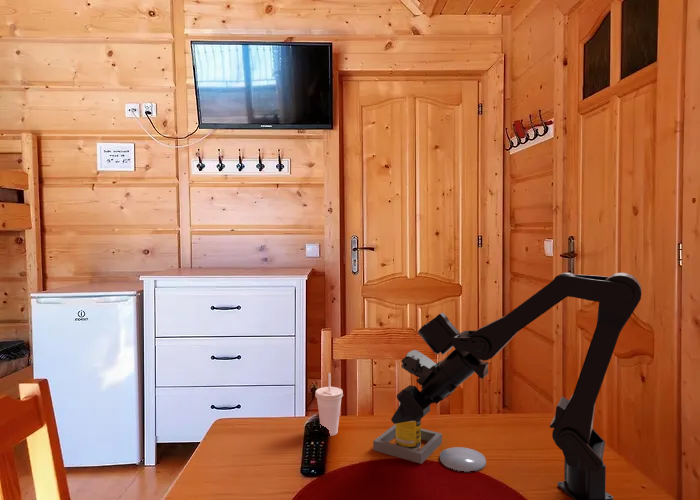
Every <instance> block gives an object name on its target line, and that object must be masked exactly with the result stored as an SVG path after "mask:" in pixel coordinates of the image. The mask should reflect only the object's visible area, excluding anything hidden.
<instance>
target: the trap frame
mask: <svg viewBox="0 0 700 500" xmlns="http://www.w3.org/2000/svg"><path fill="white" fill-rule="evenodd" d="M394 438H396V424H393V425H392V426H390V427H389V428H388V429H387V430H386V431H384V432H383V433H381V435H379V436H378V437H376V438H375V439H373V442H372V444H373V445H372V446H373V447H372V448H373V450H372V451H374V452H378V453H382V454H386V455H389V456H392V457H396V458H399V459H402V460H403V459H404V460H407V461H410V462H413V463H417V464H421V465H422V464H423V463H424V462H425V461H426V460H427V459H428V458H429V457H431V455H432V453H433V452H435V451H436V449H437V448H439V446H440V445H441V444H442V443H443V433H441V432H438V431H437V432H436V431H433V430H428V429H425V428H421V440H422V441H427V442H426V443H425V444H424V445H423V446H422V447H420V448H419V449H418V450H414V449H410V448H407V447H403V446H399V445H396V443H391V441H392V440H394Z"/></svg>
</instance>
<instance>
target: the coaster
mask: <svg viewBox="0 0 700 500" xmlns="http://www.w3.org/2000/svg"><path fill="white" fill-rule="evenodd" d="M439 461H440V464H442V465H443V466H444V467H446V468H447V469H450V468H451V469H450V470H452V469H453V470H452V471H456V470H457V471H456V472H460V471H464V472H463V473H471V472H470V471H475V472H478V471H481V470H483V469H484V468H485V467H486V466H487V459H486V457H485V456H484V454H483V453H481V452H479V451H477V450H476V449H472V448H468V447H463V446H459V447H458V446H455V447H454V446H453V447H449V448H445V449H443V450H442V451H441V452H440V454H439Z"/></svg>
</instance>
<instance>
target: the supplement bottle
mask: <svg viewBox="0 0 700 500" xmlns="http://www.w3.org/2000/svg"><path fill="white" fill-rule="evenodd" d="M399 405H400V402H399V401H398V406H399ZM421 429H422V418H421V419H420V420H419V421H418V422H416V421H408V422H402V423H396V437H395V444H396V445H399V446H403V447H407V448H410V449H414V450H418V451H419V450H420V449H421V444H422V442H421Z"/></svg>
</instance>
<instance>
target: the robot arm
mask: <svg viewBox="0 0 700 500" xmlns="http://www.w3.org/2000/svg"><path fill="white" fill-rule="evenodd" d="M569 297H570V298H576V299H581V300H584V301H590V302H595V303H596V302H597V303H598V308H597V309H598V311H597V318H596V319H597V320H596V326H595V329H594V332H593V335H592V338H591V340H590V344H589V347H588V349H587V352H586V356H585V359H584V361H583V363H582V364H583V365H582V367H581V370H580V373H579V376H578V378H577V381H576V383H575V384H576V385H575V387H574V391H573V393H572V394H571V396H570V398H569V399H568V398H566V397H564V396H561V397H560V399H559V401H558V403H557V404H556V407H555V414H554V416H553V419H552V420H551V423H550V424H549V429H552V434H551V435H552V436H551V437H552V439H553V442H554V444H555V445H556V447H558V449H560V450H561V451H562V454H563V456H564V469H563V470H564V477H563V478H564V480H563V481H557V482H556V483H557V485H556V486H557V487H559V488H560V489H562V491H564V493H566V494H567V495H568V496H570V497H571V498H572V499H573V500H614V496H613V495H611V494H610V493H608V491H606V485H607V484H606V483H607V482H606V474H607V473H606V472H607V470H606V468H607V467H606V465H605V464H604V455H605V448H606V441H605V440H604V438H602V437H601V436H600V434H598V433H597V431H596V430H595V429H594V427H593V426H594V419H595V411H596V401H597V399H598V396H599V393H600V390H601V388H602V385H603V382H604V379H605V376H606V373H607V370H608V368H609V365H610V361H611V359H612V356H613V353H614V350H615V348H616V344H617V342H618V340H619V336H620V334H621V332H622V330H623V328H624V327H625V326H626V324H627V322H628V321H629V320H630V318H631V316H632V315H633V313H634V311H635V310H636V308H637V306H638V305H639V303H640V301H641V298H642V285H641V283H640V281H639V280H638V279H637V278H636V277H635V276H634V275H632V274H629V273H627V272H617V273H613V274H611V275H609V276H604V275H591V274H590V275H589V274H577V273H576V274H575V273H572V272H568V271H567V272H562V273H560V274H558V275H556V276H554V278H553V279H552V280H551V282H549V283H548V284H546V285H544V287H542V288H541V289H540V290H538V291H537V292H536V293H534V294H533V295H532V296H530V297H529V298H528V299H526V300H525V301H524V302H522V303H520V304H519V305H518V306H517V307H516V308H514V309H513V310H512V311H510V312H509V313H507V314H506V315H504V316H502V317H500V318H498V319H495V320H493V321H491V322H489V323H487V324H484V325H483V326H482V327H479V328H478V329H476V330H463V331H461V332H460V331H459V330H458V329H457V327H455V325H454V324H453V323H452V322H451V320H450V319H449V317H448V316H447V315H446V314H445V313H444V312H440V313H438V314H437V315H436V316H435V317H434V318H432V319H431V320H430V321H428V322H426V323H425V324H423V325H422V326H421V327H420V328H419V329H418V331H417V334H418V336H420V337H421V339H423V341H424V342H425V343H426V344H427V346H428V347H429V348H430V350H432V352H433V353H434V354H435V355H436V354H437V355H440V354H441V355H442V356H443V355H445V354H447V353H448V352H449V351H450V350H451V349H453V348H454V350H452V351H451V352H450V353H449V354H448V355H447V356H446V357H444V359H442V360H440V361H438V362H437V363H436V362H434V361H433V360H432V359H431V358H429V357H428V356H427V355H425V354H424V353H422V352H420V351H419V350H417V349H412V350H411V351H408V352H407V353H406V354H405V356H404V358H402V359H401V363H402V364H401V368H402V369H404V370H405V371H406V372H408V373H409V374H411V375H414V376H415V377H417V379H415V381H416V382H417V384H418V385H420V388H421V389H419V388H418V387H417V386H415V385H412V384H409V385H408V386H406V387H405V388H403V389H402V390H401V391H400V392H398V393H397V395H396V399H397V401H398V403H399V402H400V405H399V404H398V407H397V409H396V410H395V413H394V414H393V415H392V417H391V419H390V420H391V422H392V423H393V425H395V424H396V423H402V422H408V421H416V422H418V421H419V420H420V419H421V420H422V418H424V417H425V416H427V414H428V413H430V412H431V405H432V404H436V405H438V403H440V402H442V401H443V400H444V399H446V398H448V397H450V395H451V394H453V392H455V391H456V389H457V387H459V386H460V385H462V384H463V383H464V382H465V381H466V380H467V379H468V378H470V377H471V376H472V375H473V374H474V373H475V374H476V375H477V377H479V379H480V380H483V379H484V378H485V377H486V376H487V375H489V367H488V366H489V362H488V361H489V360H491V359H493V358H494V357H495V356H496V355H497V354H499V353H500V352H501V351H502V350H503V349H504V348H505V347H506V346H507V345H508V343H510V342H511V341H512V339H513V338H514V337H515V336H516V335H517V334H518V333H519V332H520V331H521V330H522V329H524V328H525V327H526V326H528V325H529V324H531V323H532V322H533V321H535V320H536V319H538V318H540V317H541V316H542V315H544V314H545V313H546V312H548V311H549V310H551V309H552V308H553V307H555V306H557V305H558V304H560V302H562V301H563V300H564V299H566V298H569Z"/></svg>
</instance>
